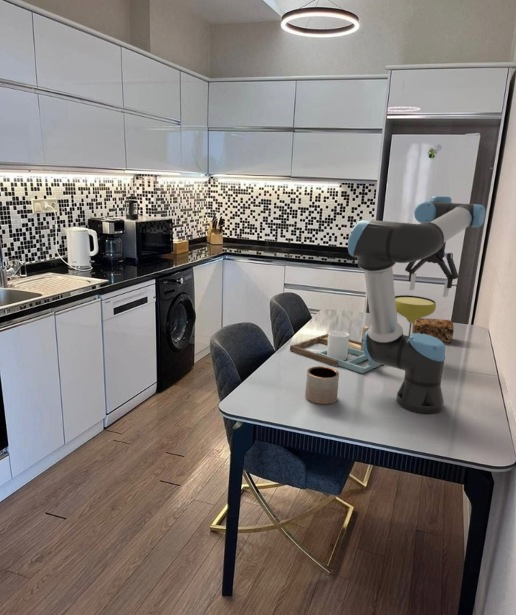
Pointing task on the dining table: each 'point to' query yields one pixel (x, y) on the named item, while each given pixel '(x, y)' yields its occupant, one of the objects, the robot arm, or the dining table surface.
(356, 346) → the light wood drawer
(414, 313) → the cocktail glass
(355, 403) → the dining table surface
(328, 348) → the mug
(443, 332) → the bread
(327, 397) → the planter
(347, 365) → the teal divided frame
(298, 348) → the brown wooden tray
